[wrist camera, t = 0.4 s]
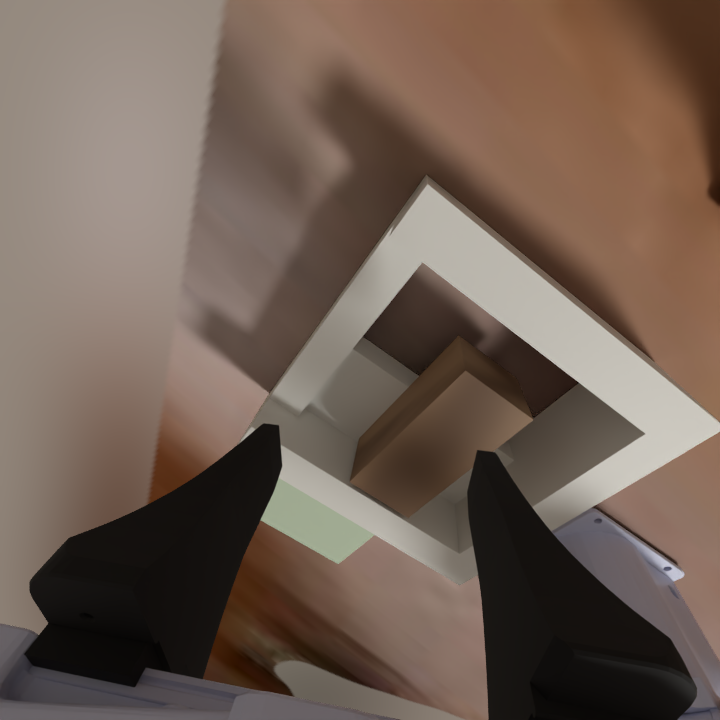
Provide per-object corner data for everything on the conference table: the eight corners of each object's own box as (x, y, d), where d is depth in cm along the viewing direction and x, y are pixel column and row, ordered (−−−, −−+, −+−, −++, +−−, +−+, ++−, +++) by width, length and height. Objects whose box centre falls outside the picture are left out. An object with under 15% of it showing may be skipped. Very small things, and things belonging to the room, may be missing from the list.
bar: (516, 378, 20) (533, 420, 17) (410, 471, 25) (408, 518, 21) (458, 335, 20) (465, 370, 17) (359, 438, 24) (349, 481, 21)
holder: (655, 363, 21) (726, 427, 16) (453, 510, 29) (459, 585, 24) (426, 174, 18) (427, 183, 13) (269, 393, 26) (233, 450, 21)
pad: (396, 511, 29) (396, 517, 29) (339, 557, 33) (338, 564, 33) (285, 443, 28) (283, 448, 27) (238, 500, 31) (235, 505, 31)
